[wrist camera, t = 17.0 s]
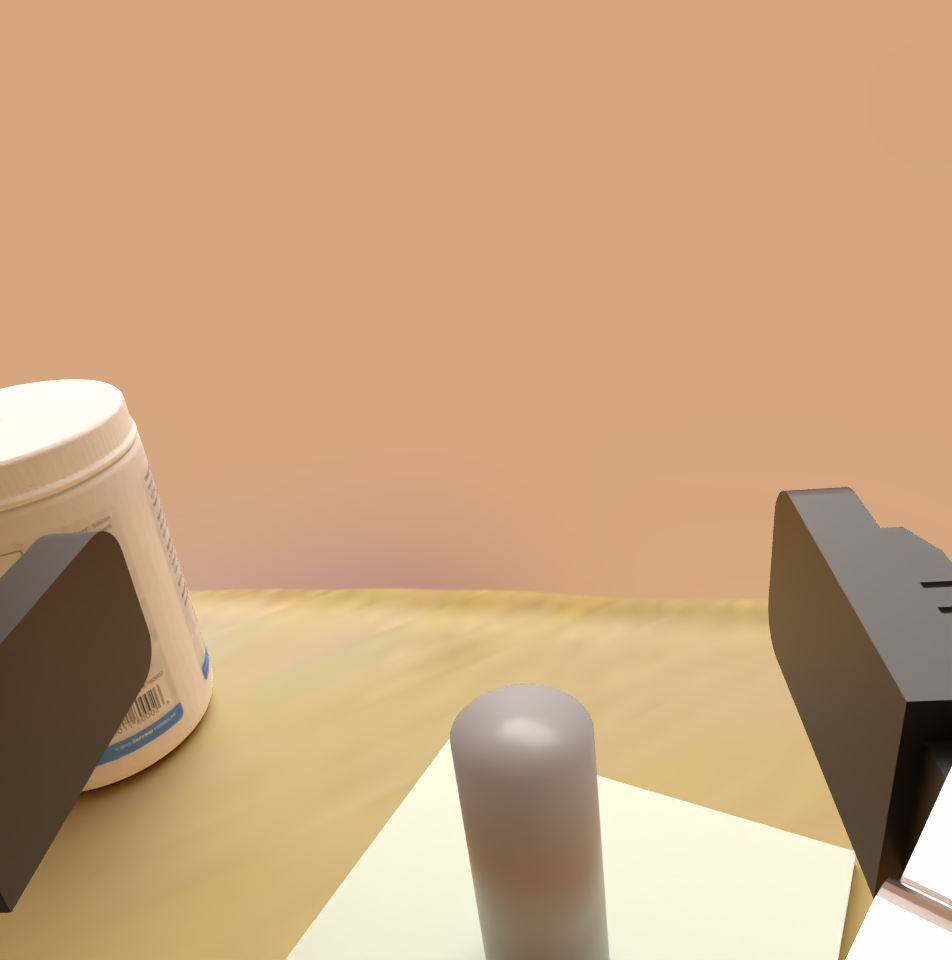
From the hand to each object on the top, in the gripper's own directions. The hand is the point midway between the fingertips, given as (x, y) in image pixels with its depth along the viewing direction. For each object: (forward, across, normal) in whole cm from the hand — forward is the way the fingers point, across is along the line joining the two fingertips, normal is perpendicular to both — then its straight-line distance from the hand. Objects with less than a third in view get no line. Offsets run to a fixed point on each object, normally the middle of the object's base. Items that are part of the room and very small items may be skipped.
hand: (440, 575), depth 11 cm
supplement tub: (+20, +19, +20) cm, 34 cm away
